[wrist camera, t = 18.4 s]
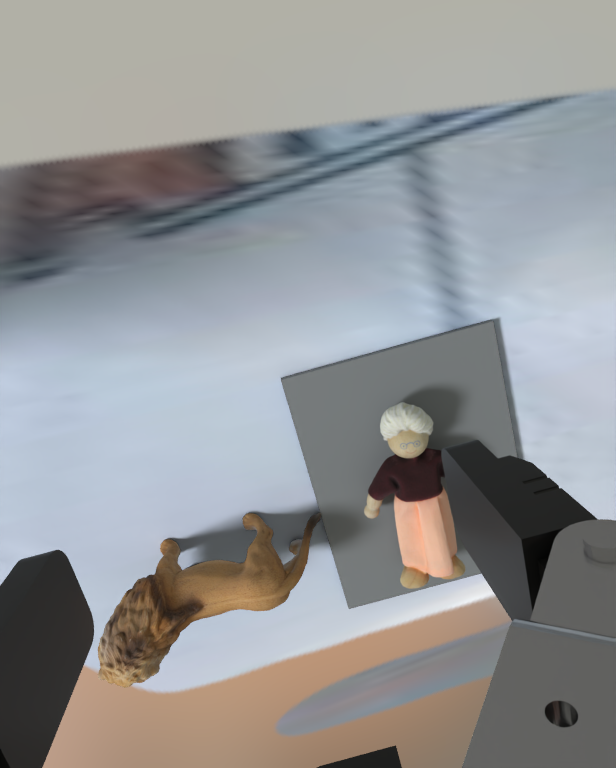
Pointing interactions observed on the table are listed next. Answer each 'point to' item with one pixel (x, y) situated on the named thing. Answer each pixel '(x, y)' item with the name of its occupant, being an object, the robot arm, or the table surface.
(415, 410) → the grandmother figurine
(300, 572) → the lion figurine
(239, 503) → the table surface
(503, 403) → the mat
